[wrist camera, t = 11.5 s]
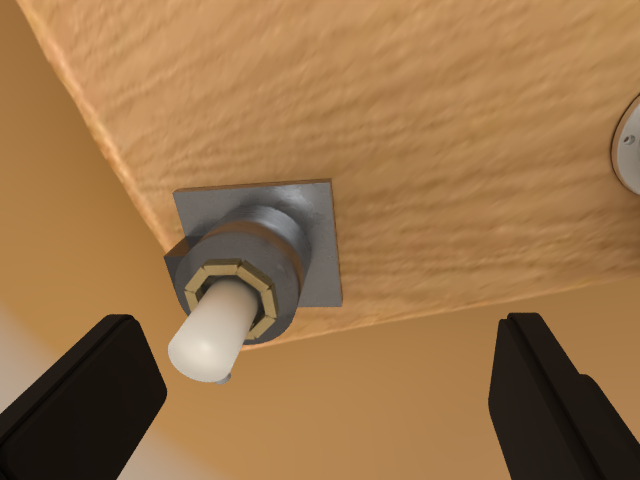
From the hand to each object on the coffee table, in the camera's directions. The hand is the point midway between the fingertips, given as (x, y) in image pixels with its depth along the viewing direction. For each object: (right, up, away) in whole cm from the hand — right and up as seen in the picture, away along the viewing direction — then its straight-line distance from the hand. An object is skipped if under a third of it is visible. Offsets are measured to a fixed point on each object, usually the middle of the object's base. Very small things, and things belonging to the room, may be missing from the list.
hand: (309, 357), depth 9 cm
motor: (-7, +2, +34) cm, 35 cm away
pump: (-8, -2, +24) cm, 26 cm away
